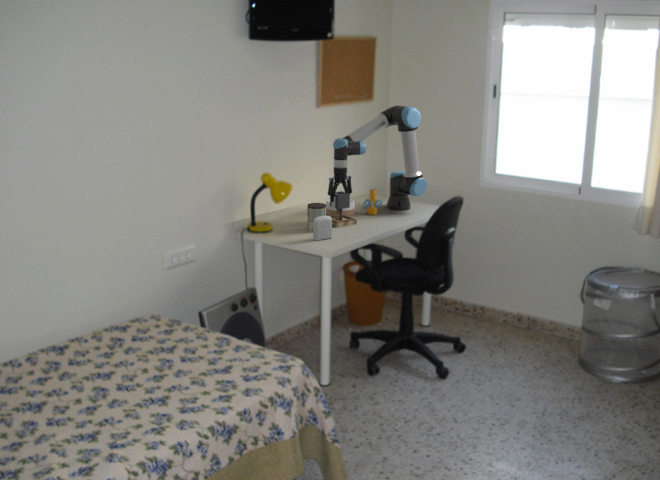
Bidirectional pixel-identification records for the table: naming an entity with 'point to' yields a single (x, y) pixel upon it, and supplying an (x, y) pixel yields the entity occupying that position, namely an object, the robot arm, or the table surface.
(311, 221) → the coffee can
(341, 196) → the hollow dark grey cube
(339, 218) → the plate
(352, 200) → the bowl
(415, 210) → the table surface
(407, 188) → the robot arm
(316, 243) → the table surface
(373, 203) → the orange tube with rings
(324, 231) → the photo printer
